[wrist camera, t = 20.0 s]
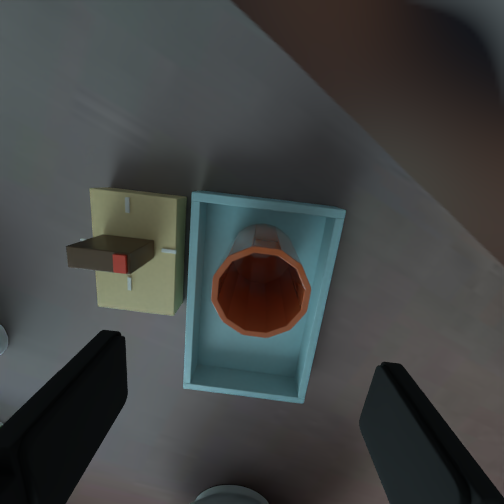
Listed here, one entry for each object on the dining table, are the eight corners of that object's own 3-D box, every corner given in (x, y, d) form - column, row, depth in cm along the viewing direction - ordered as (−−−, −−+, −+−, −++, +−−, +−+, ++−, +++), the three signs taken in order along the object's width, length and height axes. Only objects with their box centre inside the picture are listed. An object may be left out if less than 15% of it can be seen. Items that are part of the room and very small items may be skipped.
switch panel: (98, 186, 25) (75, 186, 22) (187, 196, 25) (177, 198, 22) (105, 292, 28) (86, 305, 25) (183, 302, 28) (174, 317, 25)
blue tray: (201, 190, 25) (191, 191, 21) (335, 206, 24) (346, 210, 21) (191, 366, 31) (183, 388, 27) (299, 380, 30) (303, 404, 27)
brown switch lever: (103, 252, 24) (65, 268, 19) (102, 234, 23) (62, 246, 19) (154, 257, 24) (128, 276, 19) (154, 239, 23) (127, 254, 18)
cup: (232, 219, 25) (215, 241, 16) (298, 227, 25) (318, 254, 16) (227, 280, 27) (208, 331, 18) (287, 287, 27) (300, 342, 18)
